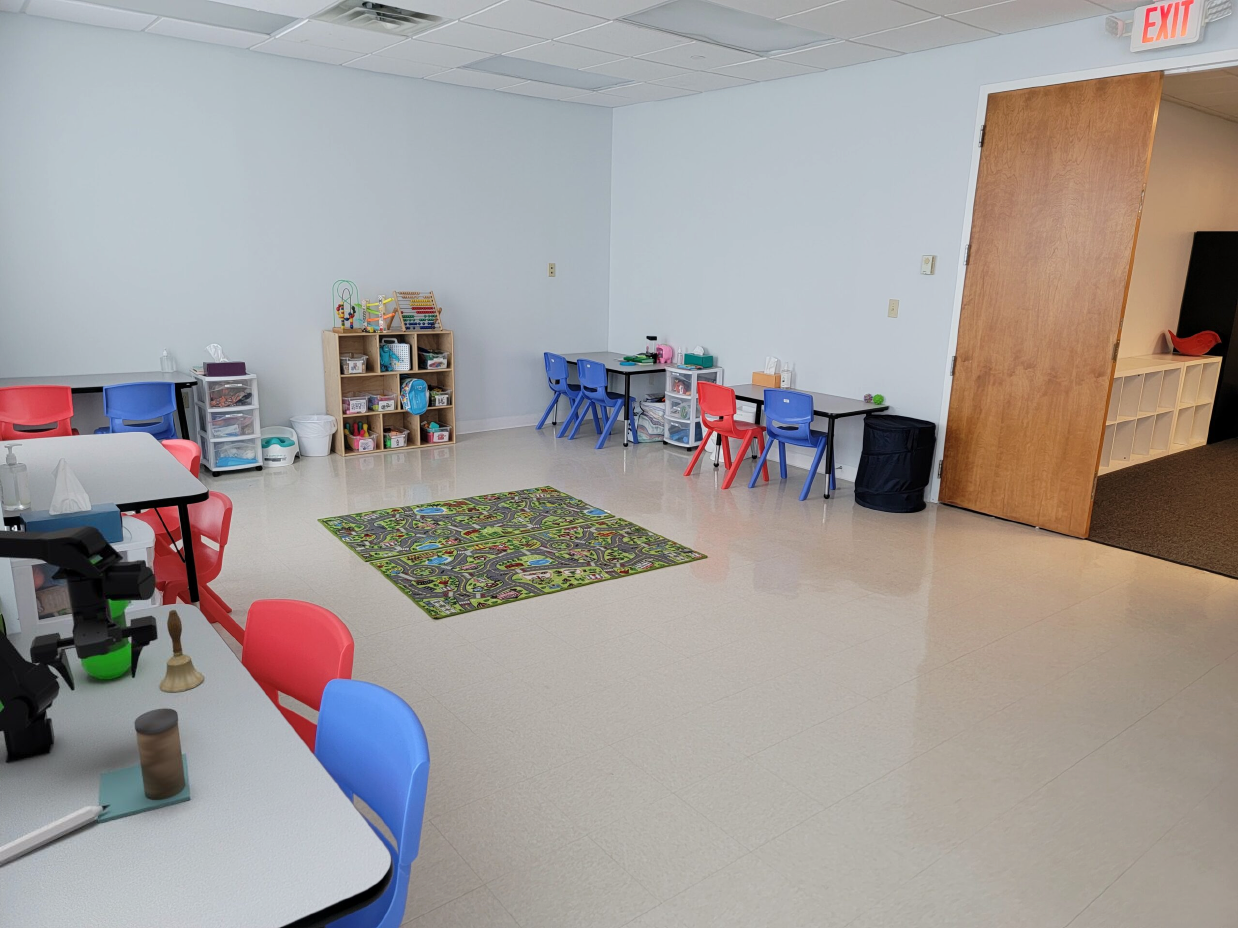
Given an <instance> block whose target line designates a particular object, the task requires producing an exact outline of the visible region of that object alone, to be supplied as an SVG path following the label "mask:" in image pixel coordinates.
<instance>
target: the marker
mask: <svg viewBox="0 0 1238 928" xmlns="http://www.w3.org/2000/svg"><path fill="white" fill-rule="evenodd" d="M110 805H111V804H110ZM110 805H105V806H99V805H97V806H96V805H95V806H91V805H87V806H85V807H83V808H80V809H78V810H77V811H74V812H72V813H70V814H67V815H66V816H64V817H61V818H59V819H57V820H55V821H53V822H51V823H48V824H46V825H44V826H42V827H40V828H38V829H36V830H34V831H31V832H29V833H27V834H26V835H23V836H20V837H19V838H17V839H15V840H12V841H10V842H8V843H6V844H4V845H2V846H0V866H1V865H4V864H7V863H8V862H11V861H13V860H15V859H18V858H19V857H21V856H23V855H25V854H27V853H29V852H31V851H33V850H35V849H37V848H39V847H42V846H44V845H46V844H48V843H51V842H52V841H55V840H56V839H58V838H60V837H63V836H65V835H67V834H68V833H71V832H73V831H76V830H78V829H79V828H81V827H84V826H85V825H88V824H90V823H91V822H93V821H95V820H96V818H98V815H99V814H100V813H101V812H102V811H104V810H105V809H106V808H108V807H109V806H110Z"/></svg>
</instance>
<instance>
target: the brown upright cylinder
mask: <svg viewBox="0 0 1238 928" xmlns="http://www.w3.org/2000/svg"><path fill="white" fill-rule="evenodd" d="M179 728H180V727H179V716H178V712H177V711H176V709H173V708H168V707H167V708H158V709H157V708H156V709H152V710H149V711H147V712H144V713H141V714H140V715H139V716H137V718H136V719H135V720H134V730H135V732H136V740H137V747H138V754H139V761H140V763H139V764H141V770H142V777H143V785H144V792H145V796H146V797H147V798H148V799H151V800H163V799H167V798H170V797H173V796H175V795H177V794H178V793H180V792H181V791H182V790H183V789H184V788H185V776H184V768H183V760H182V754H183V753H182V752H183V751H182V745H181V737H180V729H179Z"/></svg>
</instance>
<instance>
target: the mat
mask: <svg viewBox="0 0 1238 928" xmlns="http://www.w3.org/2000/svg"><path fill="white" fill-rule="evenodd" d="M182 760H183V768H184V776H185V788H184V789H183V790H182V791H181V792H180V793H178V794H177V795H175V796H173V797H170V798H167V799H163V800H151V799H148V798H147V797H146V796H145V792H144V785H143V777H142V770H141V763H138V764H135V765H130V766H127V767H122V768H117V769H113V770H110V771H109V770H108V771H106V772H102V773H100V781H99V795H98V806H105V805H110V804H111V805H110V806H109V807H108V808H106V809H105V810H104V811H102V812H101V813H100V814H99V815H98V816H97V823H98V824H102V823H105V822H108V821H113V820H117V819H120V818H124V817H128V816H129V817H130V816H132V815H136V814H137V815H138V814H141V813H145V812H148V811H151V810H156V809H160V808H163V807H168V806H171V805H175V804H179V803H183V802H187V801H190V800H191V794H190V793H191V792H190V781H189V773H188V763H187V761H188V759H187V753H182Z"/></svg>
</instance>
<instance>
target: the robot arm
mask: <svg viewBox="0 0 1238 928" xmlns="http://www.w3.org/2000/svg"><path fill="white" fill-rule="evenodd" d="M98 557H100V559H101V560H99V561H97V562H96V563H94V564H93V563H92V562H91V561H92V560H94V559H98ZM0 558H2V559H3V558H4V559H5V558H6V559H29V560H39V561H43V562H45V563H46V564H48V565H50V566H52V567H57V568H58V569H57V570H56V571H55V573H53V574H52V575H51V577H50V578H51V580H52V581H53V580H54V581H60V580H65V583H66V587H67V588H66V589H67V595H68V601H69V604H70V610H71V617H72V622H73V626H72V636H70V637H64V638H61V634H60V633H59V632H55V633H48V634H42V635H37V636H35V637H34V639H33V640H32V642H31V645H30V648H29V655H30V661H28V660H26V659H25V658H24V657H23V655H22V654H21V653H20V652H19V651H18V649H17V648H16V647H15V646H14V645H13V643H12V642H11V641H10V640H9V638H8V637H7V636H6V634H4V632H3V631H2V630H1V629H0V703H1V705H2V707H3V708H2V709H1V710H0V732H3V738H4V744H5V749H6V756H5V763H13V762H16V761H21V760H25V759H31V758H34V757H35V758H36V757H38V756H44V755H47V754H50V753H51V748H52V746H53V745H54V743H55V732H54V726H53V719H52V718H51V717H48V714H47V711H48V709H50V708H52V706H53V703H54V701H55V700H56V699H57V697H58V696H59V692H60V689H61V686H60V683H59V681H58V680H57V679H59V676H58V675H57V674H55V673H54V672H53V671H52V670H51V669H50V667H52V668H53V669H55V670H56V672H58V674H59V675H60V676H61V677H62V679H63V681H64V682H65V683H66V685H67V686H68V687H69V689H70V690H71V692H72V691H75V689H76V687H75V679H74V676H73V671H72V669H71V665H70V662H69V659H68V655H67V651H66V650H69V649H75V650H76V651H75V653H76V655H77V658H78V659H80V660H81V659H87V658H88V657H92V656H97V655H106V654H108V653H109V652H110V651H111V646H112V645H116V643H119V642H122V639H123V638H128V639H129V638H130V639H131V640H130V643H131V665H130V673H131V678H132V679H134V678H136V672H137V668H138V663H139V659H140V656H141V653H142V651H143V649H144V648H145V647H148V646H149V645H151V642H154V641H156V640H158V638H159V637H158V624H157V619H156V617H154V616H153V615H147V616H141V617H137V618H131V619H130V623H129V624H130V625H129V626H127V627H122V628H121V625H120V622H114V623H113V620H112V614H111V608H110V602H109V599H110V600H112V601H132V602H133V601H148V600H150V599H151V598H152V597H153V595H154V593H155V590H156V581H157V580H156V574H155V573H154V572H153V569H152V568H151V567H149V566H147V561H146V560H144V559H138V560H134V561H122V560H123V559H124V557H123V556H122V555H121V554H120V553H119V552H118V551H117V550H116V549H115V548H114V547H113V546H112V545H111V544H110V543H109V542H108V541H107V539H106V538H105V537H104V536H103V534H102V533H101V532H100V531H99V529H98V528H97V527H94V526H88V525H86V526H78V527H77V526H76V527H75V526H74V527H70V528H69V527H68V528H65V529H64V528H63V529H58V530H55V531H48V532H43V531H42V532H41V531H39V532H38V531H23V530H22V531H18V530H0Z"/></svg>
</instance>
